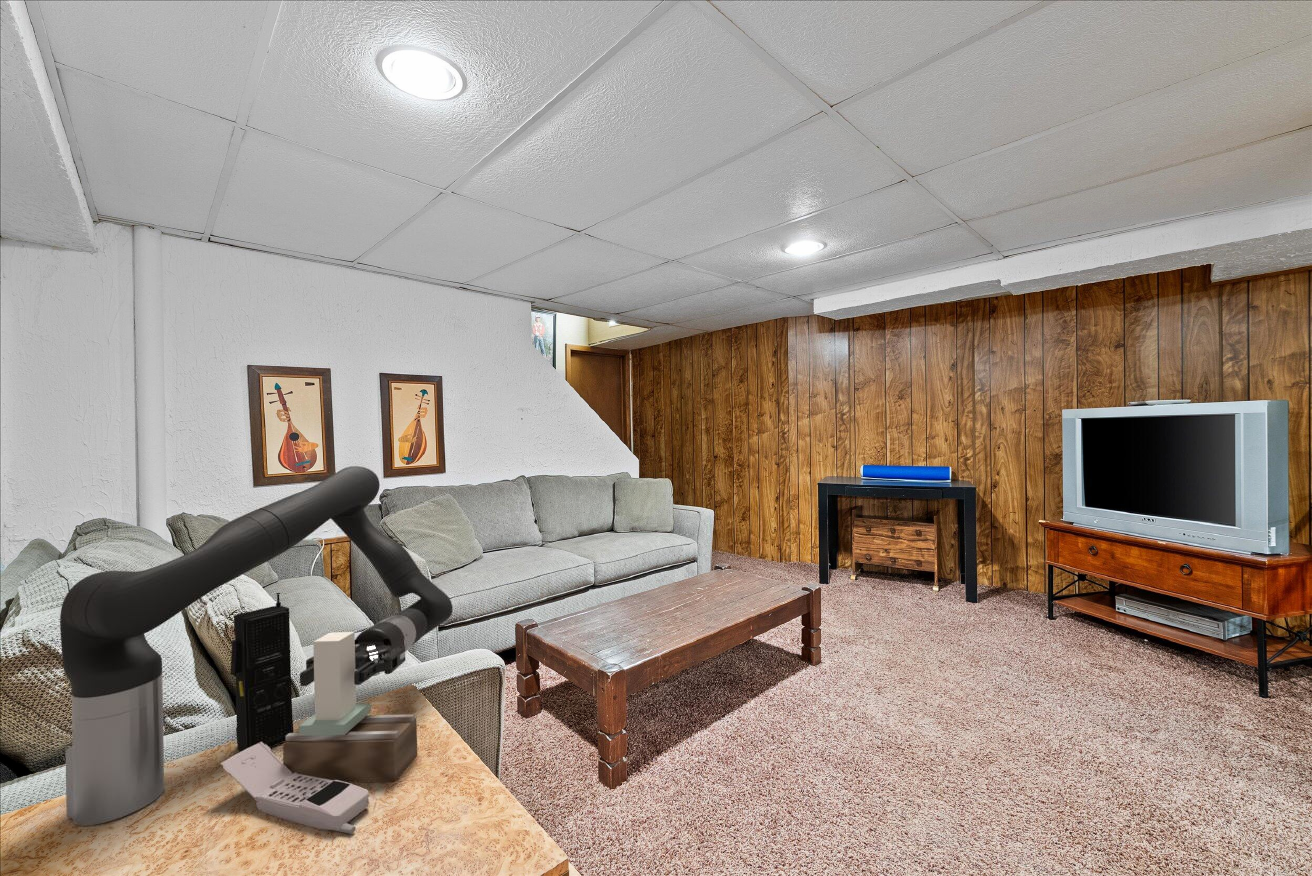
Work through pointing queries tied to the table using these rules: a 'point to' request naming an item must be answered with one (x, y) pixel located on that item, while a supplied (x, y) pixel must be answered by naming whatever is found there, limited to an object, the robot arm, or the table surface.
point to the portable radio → (262, 676)
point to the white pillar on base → (334, 687)
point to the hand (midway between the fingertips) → (329, 679)
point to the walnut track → (356, 751)
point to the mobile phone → (296, 791)
